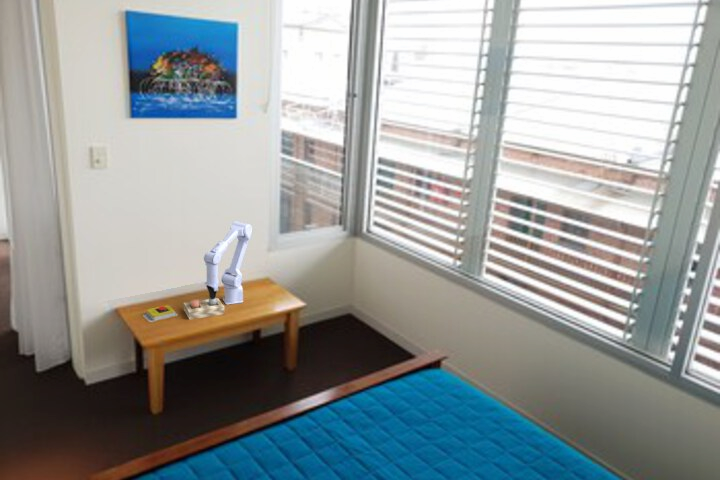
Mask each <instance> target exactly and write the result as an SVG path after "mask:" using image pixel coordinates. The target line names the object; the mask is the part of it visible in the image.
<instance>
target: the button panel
mask: <svg viewBox="0 0 720 480" xmlns="http://www.w3.org/2000/svg"><path fill="white" fill-rule="evenodd" d="M216 298H217V305H215V306H209V298H208V299H203V300H201V299H200V300H199V308H195V309H191V301H186V302H183V311H184V312H185V314H186V316H187V318H188V320H195V319H201V318H202V319H203V318H207V317H208V318H209V317H214V316H221V315H225V313H226V312H225V305H224V304H223V303H222V301H221V300H220V298H218V297H216Z"/></svg>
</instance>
